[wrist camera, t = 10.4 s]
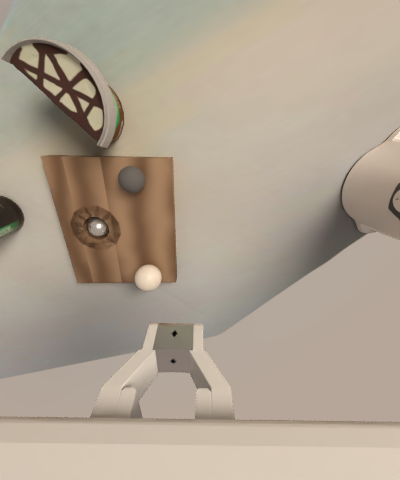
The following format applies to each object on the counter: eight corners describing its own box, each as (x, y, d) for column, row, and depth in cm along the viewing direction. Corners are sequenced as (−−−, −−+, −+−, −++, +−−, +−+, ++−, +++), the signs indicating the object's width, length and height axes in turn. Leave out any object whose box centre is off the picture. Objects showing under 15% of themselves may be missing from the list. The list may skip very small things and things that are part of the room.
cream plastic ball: (162, 259, 40) (158, 274, 36) (163, 280, 42) (160, 296, 38) (136, 259, 40) (129, 274, 36) (139, 280, 42) (133, 297, 38)
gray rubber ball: (146, 164, 33) (140, 167, 29) (148, 190, 34) (143, 195, 31) (120, 164, 32) (112, 167, 29) (124, 189, 34) (116, 195, 31)
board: (172, 157, 35) (171, 158, 32) (176, 275, 45) (176, 282, 43) (50, 155, 34) (40, 156, 32) (83, 275, 44) (77, 282, 42)
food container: (149, 116, 32) (132, 106, 23) (125, 146, 34) (100, 148, 25) (78, 40, 28) (23, -7, 19) (54, 79, 30) (-6, 53, 21)
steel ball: (108, 219, 36) (86, 223, 35) (112, 237, 38) (91, 241, 36) (105, 213, 39) (84, 216, 37) (108, 230, 41) (89, 234, 39)
